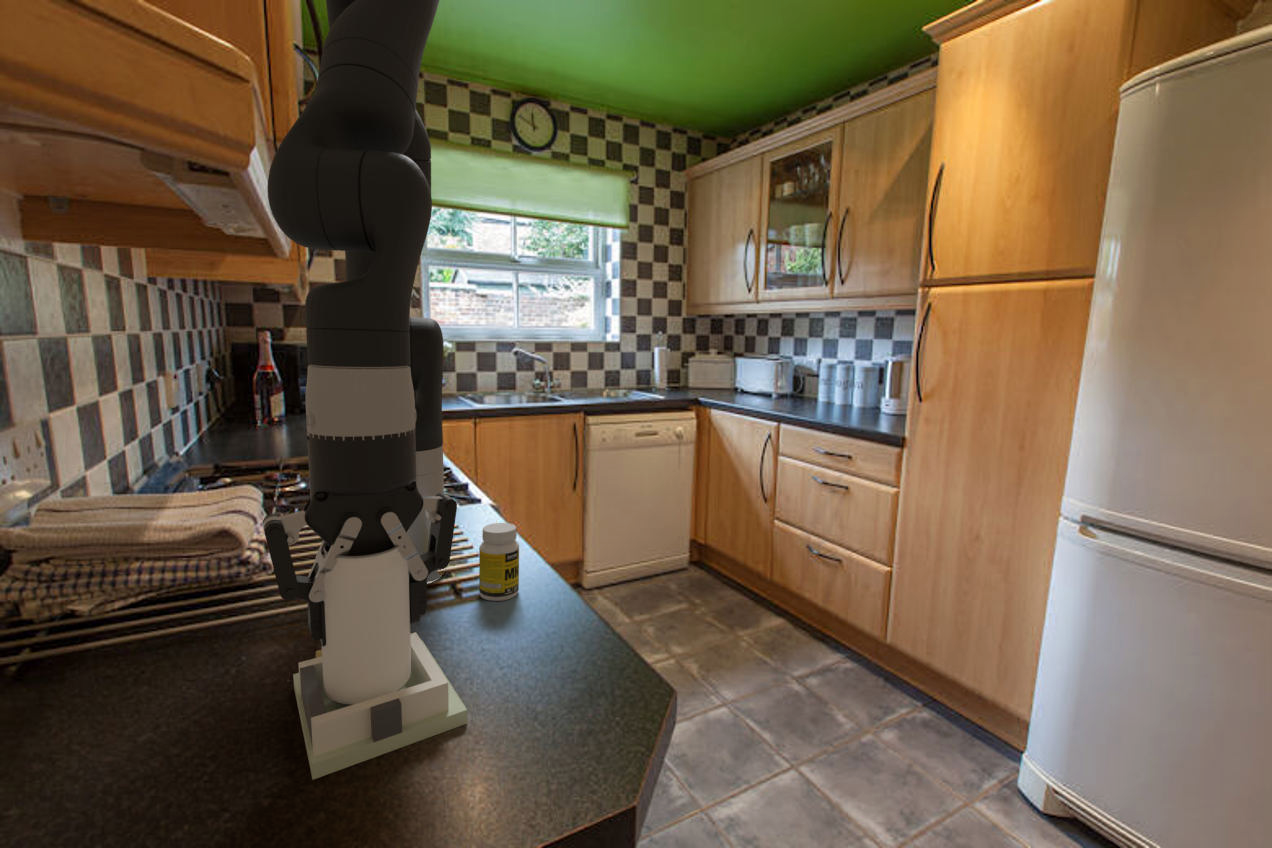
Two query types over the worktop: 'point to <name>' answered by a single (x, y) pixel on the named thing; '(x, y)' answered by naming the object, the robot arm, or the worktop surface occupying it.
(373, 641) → the can
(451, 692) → the socket board
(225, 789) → the worktop surface
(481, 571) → the supplement bottle
